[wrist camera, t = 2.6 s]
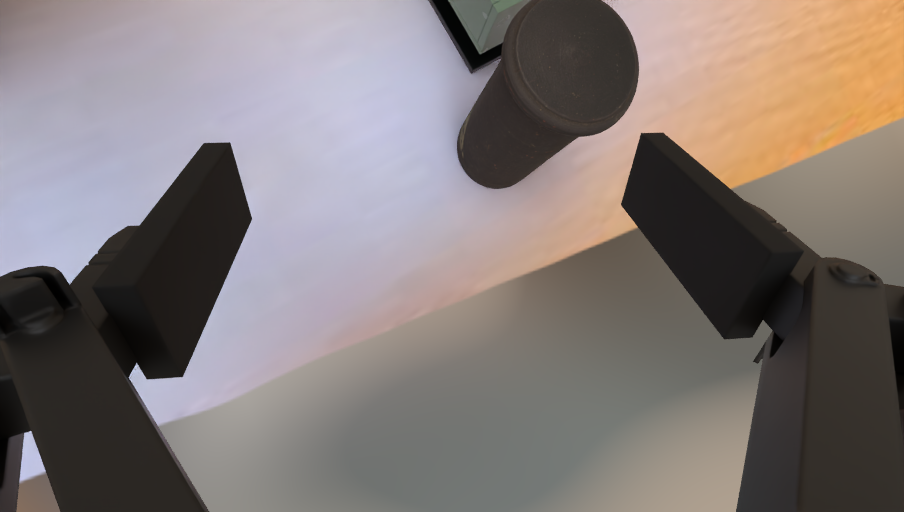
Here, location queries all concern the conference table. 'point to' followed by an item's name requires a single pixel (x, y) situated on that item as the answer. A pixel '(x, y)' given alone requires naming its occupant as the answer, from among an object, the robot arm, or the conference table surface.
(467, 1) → the green box on stand
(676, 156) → the robot arm
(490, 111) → the container
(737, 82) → the conference table surface
